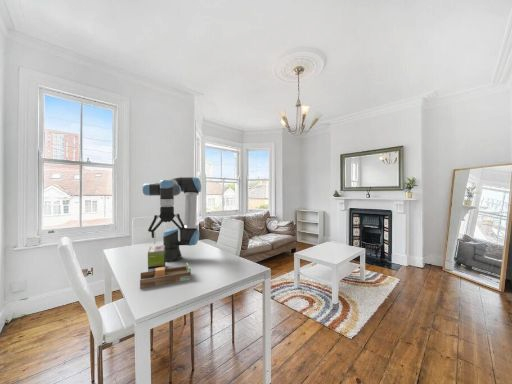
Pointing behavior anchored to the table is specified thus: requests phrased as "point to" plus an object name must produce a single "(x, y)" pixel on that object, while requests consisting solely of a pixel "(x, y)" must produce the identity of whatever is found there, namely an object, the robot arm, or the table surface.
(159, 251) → the tea box
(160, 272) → the block
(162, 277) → the track
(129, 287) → the table surface
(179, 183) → the robot arm
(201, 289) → the table surface
